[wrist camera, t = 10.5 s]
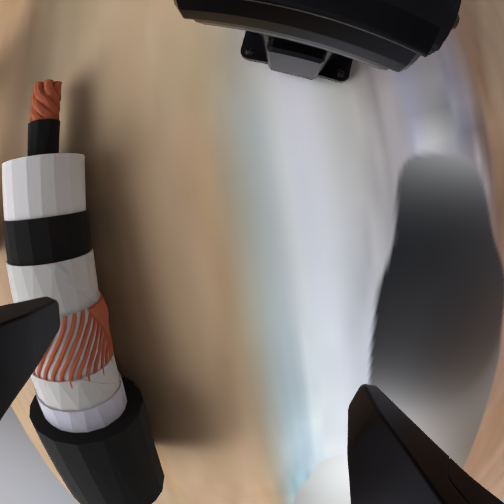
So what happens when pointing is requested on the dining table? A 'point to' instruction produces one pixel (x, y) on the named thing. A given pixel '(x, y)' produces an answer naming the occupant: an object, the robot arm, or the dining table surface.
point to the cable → (73, 324)
